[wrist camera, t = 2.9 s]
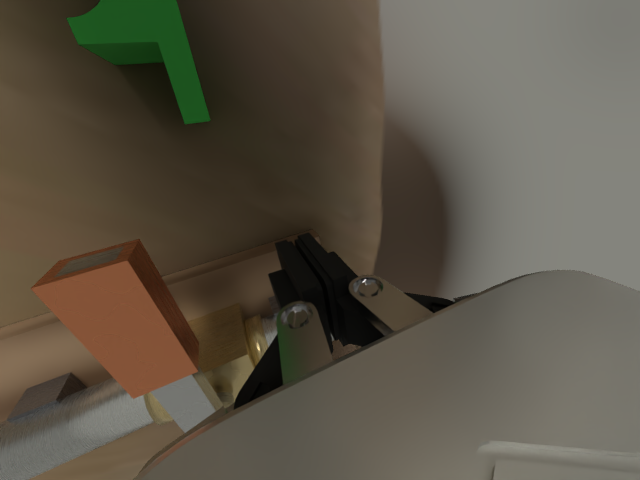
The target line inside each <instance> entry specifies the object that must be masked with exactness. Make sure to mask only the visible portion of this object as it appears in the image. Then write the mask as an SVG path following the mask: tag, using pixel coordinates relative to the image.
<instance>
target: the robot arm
mask: <svg viewBox="0 0 640 480" xmlns="http://www.w3.org/2000/svg"><path fill="white" fill-rule="evenodd" d="M297 237H298V239H295V240H294V242H295V245H294V244H293V242H292V241H289V242H288V241H287V240H286V239H285V240H282V241H279V242H276V243H275V247H276V250H277V254H278V258H279V261H280V265H281V270H278V271H275V272H272V273H269V274H268V276H269V279H270V283H271V286H272V289H273V292H274V295H275V298H276V301H277V304H278V307H279V309H280V311H279V313H278V315H277V319H276V324H277V335H276V336H275V338H274V339H273V341H272V343H271V344H270V346H269V347H268V349H267V350H266V352H265V353H264V355H263V356H262V358H261V359H260V361H259V362H258V364H257V365H256V367H255V368H254V370H253V371H252V373H251V374H250V376H249V378H248V379H247V381H246V382H245V384H244V385H243V387H242V388H241V390H240V391H239V393H238V395H237V397H236V399H235V402H234V403H233V404H232V405H230V406H229V407H227V408H226V409H225V407H224V406H222V407H221V408H220V409H218V410H217V411H215V412H214V413H213V414H211V415H210V416H208V417H207V418H206V419H204V420H203V421H201V422H200V423H199V424H197V425H196V426H194V427H193V428H191V429H190V430H189V431H187V432H186V433H184V434H183V435H182V436H180V437H179V438H177V439H176V440H175V441H173V442H172V443H170V444H169V445H168V446H166V447H165V448H163V449H162V450H161V451H159V452H158V453H156V454H155V455H154V456H153V457H152V458H151V459H150V460H149V461H148V462H147V463H146V464H145V466H144V467H143V468H142V470H141V471H140V472H139V474H138V475H137V476H136V477H135V478H134V479H133V480H640V291H637V290H635V289H632V288H630V287H627V286H624V285H621V284H618V283H616V282H613V281H611V280H608V279H605V278H602V277H599V276H596V275H592V274H589V273H586V272H581V271H575V270H553V271H542V272H536V273H531V274H526V275H523V276H520V277H516V278H513V279H510V280H508V281H505V282H503V283H500V284H498V285H495V286H493V287H490V288H488V289H486V290H484V291H481V292H479V293H475V294H470V295H466V296H461V297H457V298H453V301H450V300H448V299H444V298H438V297H431V296H425V295H418V294H410V293H403V292H401V291H400V290H398V289H397V288H396V287H394V286H393V285H391V284H390V283H388V282H387V281H385V280H384V279H382V278H380V277H378V276H374V275H363V276H359V277H358V276H357V275H356V274H355V273H354V272H353V271H352V270H351V269H350V268H349V267H348V266H347V265H346V264H345V263H344V262H343V260H342V259H341V258H340V257H339V256H338V255H337V254H336V253H335V252H330V253H327V252H326V251H325V250H324V248H323V247H322V246H321V245H320V244H319V243H318V242H317V241H316V240H315V238H314V237H313V236H312V235H311V234H310V233H309V232H308V233H304V234H301V235H298V236H297ZM331 335H332V336H333V338H334V340H335V341H336V340H338V339H339V340H340V342H341V343H342V345H343V346H345V345H347V344H354V345H356V349H357V350H355V351H353V352H351V353H349V354H347V355H345V356H343V357H341V358H339V359H337V360H335V361H333V358H332V352H333V345H332V338H331Z"/></svg>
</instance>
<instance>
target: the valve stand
mask: <svg viewBox="0 0 640 480" xmlns="http://www.w3.org/2000/svg"><path fill="white" fill-rule="evenodd" d="M308 232H309V233H310V234H311V235H312V236H313V237H314V238H315V240H316V241H317V242H318V243H319V244H320V245H321V242H320V236H319V235H318V234H317V233H316V232H315V231H314V230H313V229H311V230H308V231H305V232H302V233H299V234H296V235H293V236H289V237H286V238H283V239H280V240H277V241H274V242H270V243H267V244H264V245H261V246H258V247H255V248H251V249H248V250H245V251H242V252H239V253H236V254H232V255H229V256H226V257H223V258H220V259H217V260H213V261H210V262H207V263H204V264H201V265H198V266H194V267H191V268H188V269H185V270H182V271H179V272H175V273H172V274H169V275H166V276H163V277H162V279H163V281H164V283H165V284H166V286H167V288H168V289H169V291H170V293H171V295H172V296H173V298H174V300H175V302H176V303H177V305H178V307H179V309H180V310H181V312H182V314H183V315H184V317H185V319H186V321H190V320H193V319H195V318H198V317H201V316H204V315H206V314H209V313H212V312H214V311H217V310H220V309H223V308H225V307H228V306H231V305H233V304H236V303H239V304H240V307H241V309H242V312H243V314H244V317H245V319H248V318H251V317H254V316H256V315H259V314H260V316H261V319H263V318H265V317H268V316H270V315H273V312H272V309H271V305H270V302H269V299H268V298H269V297H272V296H275V295H274V292H273V289H272V286H271V283H270V279H269V276H268V274H269V273H272V272H275V271H278V270H281V265H280V261H279V258H278V254H277V250H276V247H275V243H276V242H279V241H282V240H285V239H286V240H287V241H288V242H289V241H292V242H293V244H294V245H295V242H294V240H295V239H298V237H297V236H298V235H301V234H304V233H308ZM70 372H71V373H72V374H73V375H74V376H76V377H77V378H78V379H79V380H80V381H81V382H82V383H83V384H84V385H85V386H86V387H87V388H88V387H91V386H94V385H96V384H99V383H101V382H104V381H106V380H109V379H111V378H113V377H112V375H111V374H110V373H109V372H108V371H107V370H106V369H105V368H104V367H103V366H102V365H101V364H100V363H99V361H98V360H97V359H96V358H95V357H94V356H93V355H92V354H91V353H90V352H89V351H88V350H87V349H86V347H85V346H84V345H83V344H82V343H81V342H80V341H79V340H78V339H77V338H76V337H75V336H74V335H73V334H72V332H71V331H70V330H69V329H68V328H67V327H66V326H65V325H64V324H63V323H62V322H61V321H60V320H59V318H58V317H57V316H56V315H55V314H54V313H53V312H49V313H46V314H42V315H39V316H36V317H33V318H30V319H27V320H23V321H20V322H17V323H14V324H11V325H8V326H4V327H1V328H0V422H3V421H5V420H6V419H7V418H8V416H9V415H10V413H11V412H12V410H13V409H14V407H15V406H16V404H17V403H18V401H19V400H20V398H21V397H22V395H23V394H24V392H25V391H26V389H27V388H30V387H32V386H35V385H38V384H40V383H43V382H46V381H48V380H51V379H54V378H56V377H59V376H62V375H64V374H67V373H70Z"/></svg>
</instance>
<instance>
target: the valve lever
mask: <svg viewBox="0 0 640 480" xmlns="http://www.w3.org/2000/svg"><path fill="white" fill-rule="evenodd" d="M31 289H32V290H33V292H34V293H35V294H36V295H37V296H38V297H39V298H40V299H41V300H42V301H43V302H44V303H45V304H46V306H47V307H48V308H49V309H50V310H51V311H52V312H53V313H54V314H55V315H56V316H57V317H58V318H59V320H60V321H61V322H62V323H63V324H64V325H65V326H66V327H67V328H68V329H69V330H70V331H71V332H72V334H73V335H74V336H75V337H76V338H77V339H78V340H79V341H80V342H81V343H82V344H83V345H84V346H85V347H86V349H87V350H88V351H89V352H90V353H91V354H92V355H93V356H94V357H95V358H96V359H97V360H98V361H99V363H100V364H101V365H102V366H103V367H104V368H105V369H106V370H107V371H108V372H109V373H110V374H111V375H112V377H113V378H114V379H115V380H116V381H117V382H118V383H119V384H120V385H121V386H122V387H123V388H124V389H125V391H126V392H127V393H128V394H129V395H130V396H131V397H132V398H133V399H135V398H137V397H139V396H142V395H144V394H146V393H149V392H151V393H152V395H153V396H154V397H155V398H156V399H157V400H158V402H159V403H160V404H161V405H162V406H163V408H164V409H165V410H166V411H167V412H168V413H169V415H170V416H171V417H172V418H173V419H174V421H175V422H176V423H177V424H178V425H179V426H180V428H181V429H182V430H183V431H184V432H185V433H186V432H187V431H189V430H190V429H191V428H193V427H194V426H196V425H197V424H199V423H200V422H201V421H203V420H204V419H206V418H207V417H208V416H210V415H211V414H213V413H214V412H215V411H217V410H218V409H220V408H221V407H222V406H224V407H225V409H226V408H227V407H229V406H230V405H232V404H233V403H234V396H233V395H232V394H231V393H229V392H219V393H215V391H214V389H213V388H212V386H211V385H210V383H209V381H208V380H207V378H206V377H205V375H204V373H203V372H202V370H201V368H200V367H199V365H198V360H199V341H198V340H197V338H196V336H195V335H194V333H193V331H192V329H191V328H190V326H189V324H188V322H187V321H186V319H185V317H184V315H183V314H182V312H181V310H180V309H179V307H178V305H177V303H176V302H175V300H174V298H173V296H172V295H171V293H170V291H169V289H168V288H167V286H166V284H165V283H164V281H163V279H162V277H161V276H160V274H159V272H158V270H157V269H156V267H155V265H154V264H153V262H152V260H151V258H150V257H149V255H148V253H147V251H146V250H145V248H144V246H143V244H142V243H141V241H140V239H137V240H134V241H130V242H126V243H123V244H119V245H115V246H112V247H108V248H104V249H101V250H97V251H93V252H90V253H86V254H82V255H79V256H75V257H71V258H68V259H64V260H60V261H58V262H57V263H56V264H55V265H54V266H53V267H52V268H51V269H50V270H49V271H48V272H47V273H46V274H45V275H44V276H43V277H42V278H41V279H40V280H39V281H38V282H37V283H36V284H35V285H34V286H33V287H32V288H31Z"/></svg>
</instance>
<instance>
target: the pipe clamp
mask: <svg viewBox="0 0 640 480" xmlns="http://www.w3.org/2000/svg"><path fill="white" fill-rule="evenodd" d="M66 19H67V21H68V23H69V25H70V27H71V30H72V32H73V34H74V36H75V38H76V41H77V43H78V45H80V46H82V47H84V48H86V49H87V50H89V51H91V52H93V53H95V54H96V55H98V56H100V57H102V58H103V59H105V60H107V61H109V62H111V63H112V64H114V65H124V64H141V63H159V62H164V63H165V66H166V69H167V72H168V75H169V78H170V81H171V84H172V87H173V90H174V93H175V96H176V99H177V102H178V105H179V108H180V111H181V114H182V117H183V120H184V123H185V124H191V123H199V122H207V121H211V120H210V117H209V113H208V110H207V106H206V103H205V99H204V96H203V92H202V89H201V85H200V82H199V78H198V75H197V71H196V68H195V64H194V60H193V57H192V53H191V50H190V46H189V43H188V39H187V36H186V32H185V29H184V25H183V22H182V18H181V15H180V11H179V8H178V4H177V1H176V0H100V2H99V3H98V4H97V6H96V7H95V8H93V9H92V10H91V11H90V12H88V13H86V14H84V15H81V16H77V17H71V18H66Z"/></svg>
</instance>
